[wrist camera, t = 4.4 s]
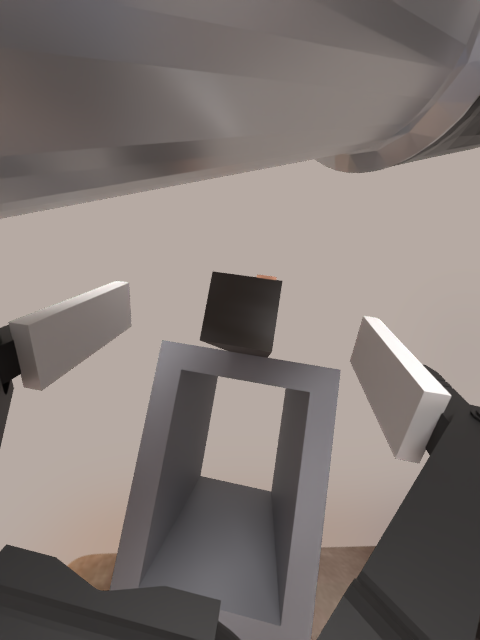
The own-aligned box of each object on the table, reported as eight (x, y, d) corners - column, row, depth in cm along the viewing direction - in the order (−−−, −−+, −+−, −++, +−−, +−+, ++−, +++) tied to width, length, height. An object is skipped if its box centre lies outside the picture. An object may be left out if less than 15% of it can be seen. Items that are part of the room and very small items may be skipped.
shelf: (272, 601, 34) (303, 365, 39) (283, 885, 16) (340, 367, 20) (167, 574, 36) (209, 349, 40) (64, 802, 17) (162, 337, 22)
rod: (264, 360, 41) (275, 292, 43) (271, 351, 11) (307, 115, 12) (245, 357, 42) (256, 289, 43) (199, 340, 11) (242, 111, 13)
